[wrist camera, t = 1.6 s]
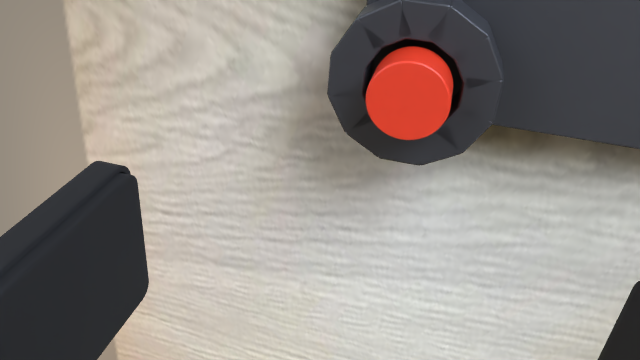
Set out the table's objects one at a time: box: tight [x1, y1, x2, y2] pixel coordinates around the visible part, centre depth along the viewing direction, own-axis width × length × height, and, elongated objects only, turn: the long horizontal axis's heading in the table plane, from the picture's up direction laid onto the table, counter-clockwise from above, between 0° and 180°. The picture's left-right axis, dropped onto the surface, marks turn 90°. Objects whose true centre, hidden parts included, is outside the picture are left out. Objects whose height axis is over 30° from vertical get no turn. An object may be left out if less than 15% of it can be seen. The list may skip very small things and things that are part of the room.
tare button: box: [366, 46, 453, 140], centre depth 18 cm, size 3×3×2 cm
